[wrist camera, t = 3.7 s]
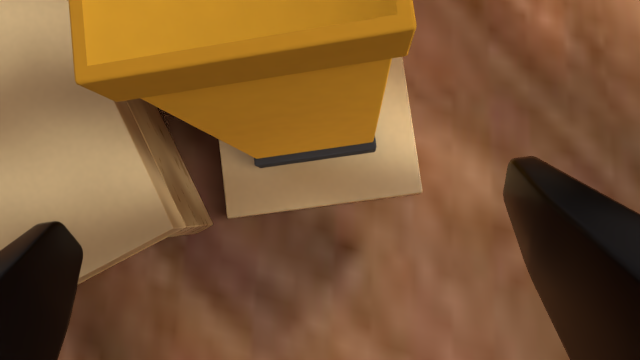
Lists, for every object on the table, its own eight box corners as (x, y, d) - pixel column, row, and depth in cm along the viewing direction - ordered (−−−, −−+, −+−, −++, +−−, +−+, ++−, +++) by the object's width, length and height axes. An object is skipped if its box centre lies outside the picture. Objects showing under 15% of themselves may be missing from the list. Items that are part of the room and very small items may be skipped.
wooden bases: (509, 146, 19) (555, 126, 15) (83, 367, 20) (6, 411, 16) (339, -147, 21) (334, -243, 17) (-44, 69, 22) (-144, 33, 18)
